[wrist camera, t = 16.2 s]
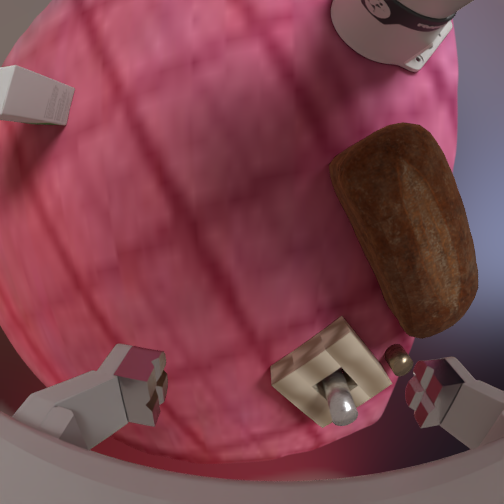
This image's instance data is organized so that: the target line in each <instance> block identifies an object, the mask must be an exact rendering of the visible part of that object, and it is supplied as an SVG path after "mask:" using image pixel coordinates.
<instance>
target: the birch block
mask: <svg viewBox="0 0 504 504" xmlns="http://www.w3.org/2000/svg"><path fill="white" fill-rule="evenodd" d="M341 367H342V368H343V369H344V371H345V372H344V373H343V374H344V377H345V379H346V382H347V385H348V387H349V390H350V393H351V396H352V398H353V401H354V404H355V406H356V408H357V407H358V406H360V405H361V404H363V403H364V402H366V401H367V400H369V399H370V398H372V397H373V396H375V395H376V394H378V393H379V392H381V391H382V390H384V389H385V388H386V387H388V386H389V385H391V384H392V382H391V381H390V379H389V377H388V375H387V373H386V372H385V370H384V368H383V366H382V365H381V364H380V363H379V361H378V360H377V359H376V358H375V356H374V355H373V354H372V353H371V351H370V350H369V349H368V348H367V346H366V345H365V344H364V343H363V341H362V340H361V339H360V338H359V336H358V335H357V334H356V333H355V331H354V330H353V329H352V328H351V326H350V325H349V324H348V323H347V321H346V320H345V319H344V318H343V317H342V316H341V317H339V318H338V319H337V320H335V321H334V322H333V323H331V324H330V325H329V326H327V327H326V328H325V329H323V330H322V331H321V332H319V333H318V334H316V335H315V336H314V337H312V338H311V339H310V340H308V341H307V342H305V343H304V344H302V345H301V346H300V347H298V348H297V349H295V350H294V351H292V352H291V353H289V354H288V355H287V356H285V357H284V358H282V359H281V360H279V361H278V362H276V363H275V364H273V365H272V366H271V384H272V386H273V387H274V388H275V389H276V390H277V391H278V392H280V393H281V394H282V395H283V396H284V397H285V398H287V399H288V400H289V401H290V402H291V403H293V404H294V405H295V406H296V407H297V408H299V409H300V410H301V411H302V412H303V413H305V414H306V415H307V416H308V417H310V418H311V419H312V420H313V421H315V422H316V423H317V424H318V425H320V426H321V427H322V428H323V427H325V426H327V425H328V424H330V423H332V422H333V421H332V417H331V413H330V409H329V406H328V402H327V398H326V394H325V391H324V387H323V383H322V381H321V380H323V379H324V378H326V377H327V376H329V375H330V374H332V373H333V372H335V371H336V370H338V369H339V368H341Z"/></svg>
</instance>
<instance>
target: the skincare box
mask: <svg viewBox="0 0 504 504" xmlns="http://www.w3.org/2000/svg"><path fill="white" fill-rule="evenodd" d="M74 91H75V88H73V87H70V86H68V85H65V84H63V83H60V82H58V81H56V80H53V79H51V78H48V77H46V76H43V75H41V74H38V73H35V72H33V71H30V70H28V69H25V68H22V67H19V66H17V65H14V66H7V67H1V68H0V120H6V121H14V122H21V123H28V124H43V125H66V124H67V119H68V115H69V110H70V106H71V102H72V98H73V94H74Z"/></svg>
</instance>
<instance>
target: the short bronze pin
mask: <svg viewBox="0 0 504 504" xmlns="http://www.w3.org/2000/svg"><path fill="white" fill-rule="evenodd" d="M385 359H386V361H387V362H388V364H389V366H390V367H391V369H392V371H393V372H394V374H395V375H396V376H403V375H405V374H407V373H408V372H409V371H410V370H411V369H412V366H413V361H412V360H411V358H410V357H409V355H408V354H407V353H406V351H405V350H404V348H403V347H402V346H401V345H400V344H394V345H392V346H390V347H389V348H388V349H387V350H386V352H385Z"/></svg>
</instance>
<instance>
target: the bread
mask: <svg viewBox="0 0 504 504" xmlns="http://www.w3.org/2000/svg"><path fill="white" fill-rule="evenodd" d="M329 170H330V177H331V181H332V184H333V187H334V190H335V192H336V194H337V197H338V199H339V201H340V203H341V205H342V207H343V208H344V210H345V212H346V214H347V216H348V218H349V220H350V222H351V225H352V227H353V229H354V231H355V234H356V236H357V238H358V240H359V242H360V245H361V247H362V249H363V251H364V254H365V256H366V258H367V260H368V261H369V263H370V265H371V267H372V269H373V271H374V274H375V276H376V278H377V280H378V283H379V285H380V288H381V291H382V294H383V296H384V299H385V301H386V303H387V305H388V307H389V308H390V310H391V311H392V313H393V314H394V315H395V317H396V318H397V319H398V320H399V323H400V325H401V327H402V328H403V329H404V331H405V332H406V333H407V334H408V335H409V336H412V337H417V338H425V337H430V336H433V335H435V334H438V333H440V332H442V331H444V330H446V329H448V328H449V327H451V326H453V325H454V324H455V323H456V322H457V321H459V320H460V319H461V318H462V316H463V315H464V314H465V313H466V311H467V310H468V309H469V307H470V305H471V303H472V301H473V300H474V298H475V295H476V292H477V289H478V269H477V264H476V256H475V249H474V244H473V239H472V236H471V232H470V228H469V224H468V220H467V216H466V212H465V208H464V205H463V202H462V199H461V196H460V194H459V191H458V189H457V185H456V182H455V179H454V176H453V174H452V171H451V169H450V167H449V164H448V162H447V160H446V157H445V155H444V153H443V151H442V150H441V148H440V146H439V145H438V143H437V142H436V140H435V139H434V137H433V136H432V135H431V133H430V132H429V131H427V130H426V129H425V128H423V127H422V126H420V125H416V124H410V123H397V124H392V125H388V126H386V127H384V128H382V129H380V130H377V131H375V132H374V133H372V134H371V135H369V136H367V137H366V138H364V139H363V140H361V141H359V142H357V143H356V144H354V145H352V146H351V147H349V148H347V149H346V150H344V151H343V152H341V153H340V154H338V155H337V156H335V157H334V159H333V160H332V162H331V163H330V165H329Z"/></svg>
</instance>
